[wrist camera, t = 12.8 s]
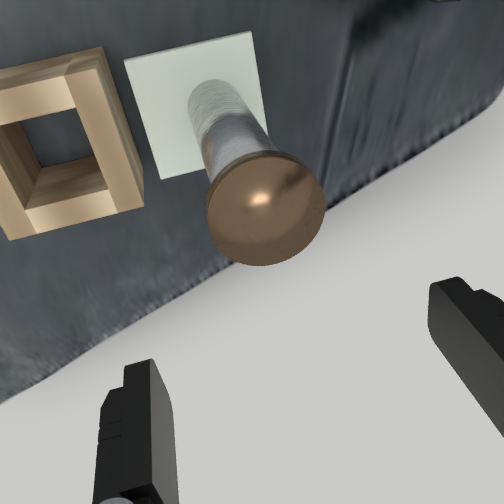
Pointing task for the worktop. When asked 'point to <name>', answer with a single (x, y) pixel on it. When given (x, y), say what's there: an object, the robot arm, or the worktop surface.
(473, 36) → the worktop surface
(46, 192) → the oak eye block
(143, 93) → the sage mat
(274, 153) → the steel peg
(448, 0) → the beverage cup
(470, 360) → the robot arm
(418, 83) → the worktop surface
